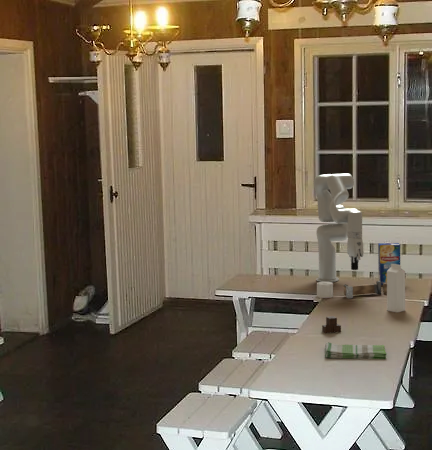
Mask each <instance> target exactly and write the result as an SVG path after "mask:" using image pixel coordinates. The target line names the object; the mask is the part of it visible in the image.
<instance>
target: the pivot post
mask: <svg viewBox="0 0 432 450" xmlns="http://www.w3.org/2000/svg"><path fill="white" fill-rule="evenodd" d="M375 284H376V285H377V293H375V294H376V295H382V285H381V281H379V280H377V281H376V283H375Z"/></svg>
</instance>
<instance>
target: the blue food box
mask: <svg viewBox="0 0 432 450" xmlns="http://www.w3.org/2000/svg"><path fill="white" fill-rule="evenodd" d="M377 244H378V252H377V253H378V255H377V256H378V259H377V260H378V261H377V262H378V263H377V264H378V269H377V270H378V281H381V286H383V283H387V270H388V269H389V268H390V267H391V264H397V265H401V244H400V243H399V242H386V243H385V242H384V243H382V242H379V243H377Z"/></svg>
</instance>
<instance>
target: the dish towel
mask: <svg viewBox="0 0 432 450" xmlns="http://www.w3.org/2000/svg"><path fill="white" fill-rule="evenodd" d="M324 347H325V349H324V353H325V355H324V357H325V359H346V360H347V359H349V360H350V359H351V360H352V359H353V360H354V359H356V360H357V359H359V360H360V359H361V360H386V359H387V357H386V356H387V352H386V349H385V345H384V344H382V345H381V344H338V343H331V342H330V341H329V342H325V346H324Z"/></svg>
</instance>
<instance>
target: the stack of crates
mask: <svg viewBox="0 0 432 450" xmlns="http://www.w3.org/2000/svg"><path fill="white" fill-rule="evenodd" d="M325 322H326V323H325V324H322V325H321V329H322V330H321V332H322V333H324V334H332V333H341V332H342V325H341V324H339V323H338V318H337V317H336V316H326V317H325Z"/></svg>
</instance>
